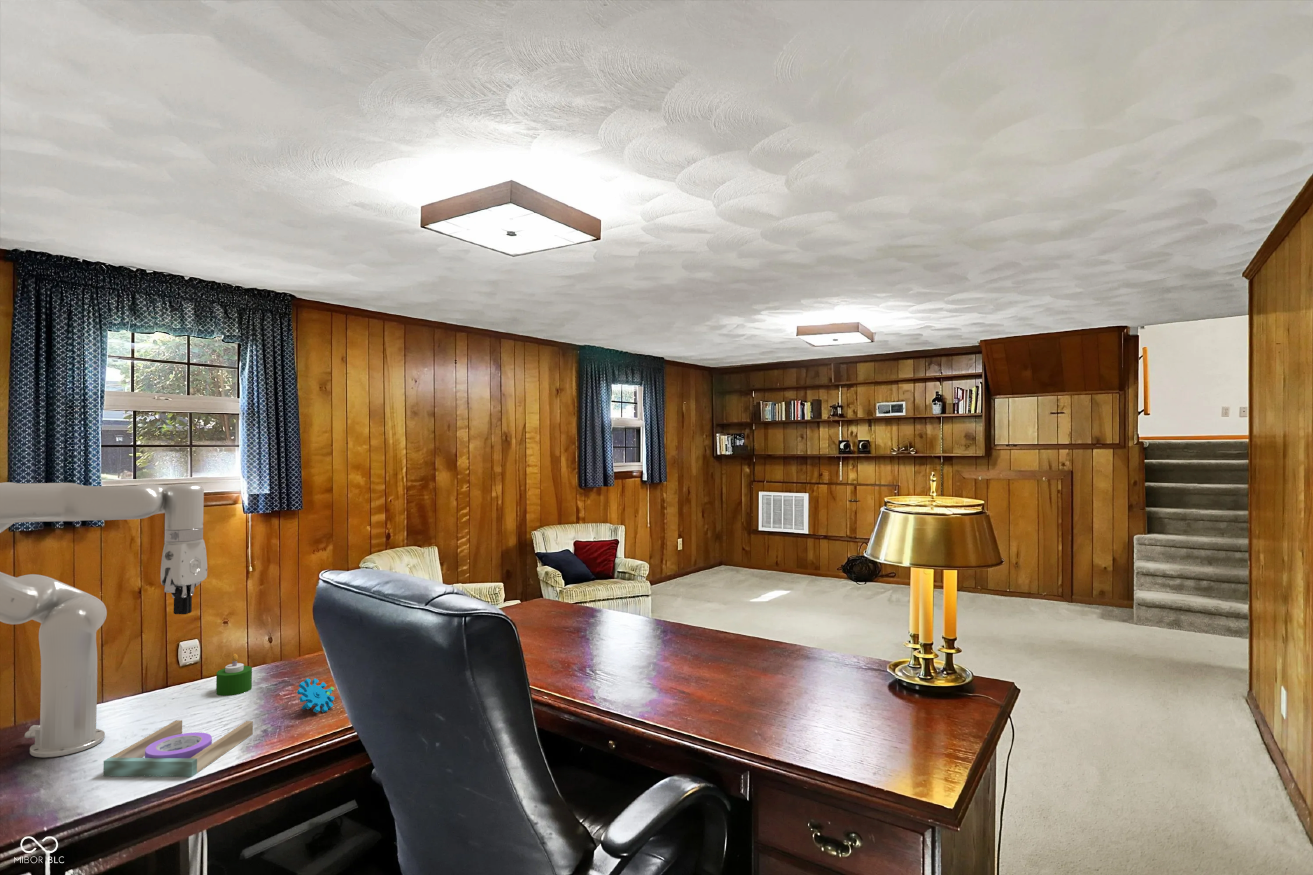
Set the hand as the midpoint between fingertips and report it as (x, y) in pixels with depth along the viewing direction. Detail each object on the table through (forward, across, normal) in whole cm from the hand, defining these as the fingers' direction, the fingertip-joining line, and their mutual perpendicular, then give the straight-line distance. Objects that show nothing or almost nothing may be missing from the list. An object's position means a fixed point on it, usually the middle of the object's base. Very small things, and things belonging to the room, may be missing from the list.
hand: (182, 613), depth 161 cm
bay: (+27, -13, -10) cm, 32 cm away
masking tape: (+28, -16, -11) cm, 34 cm away
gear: (+27, +12, -26) cm, 40 cm away
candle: (+27, +25, +3) cm, 37 cm away
